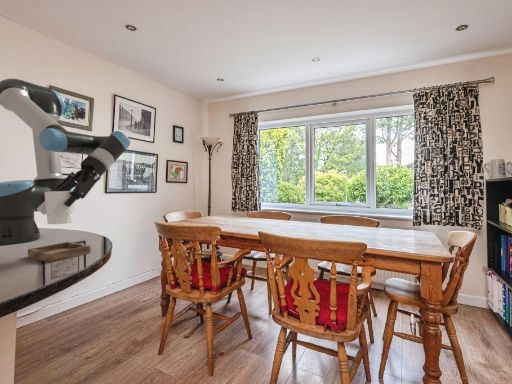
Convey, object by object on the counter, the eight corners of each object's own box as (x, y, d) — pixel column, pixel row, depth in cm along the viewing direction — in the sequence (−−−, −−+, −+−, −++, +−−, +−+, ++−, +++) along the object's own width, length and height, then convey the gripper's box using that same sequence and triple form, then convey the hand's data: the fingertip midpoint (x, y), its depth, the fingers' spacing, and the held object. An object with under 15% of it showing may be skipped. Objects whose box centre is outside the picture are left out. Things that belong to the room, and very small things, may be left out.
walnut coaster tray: (27, 257, 85) (27, 249, 84) (68, 248, 95) (68, 241, 95) (50, 262, 80) (50, 254, 79) (90, 252, 90) (90, 245, 90)
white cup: (59, 225, 82) (59, 192, 82) (38, 224, 84) (37, 191, 83) (81, 221, 90) (80, 191, 90) (61, 220, 92) (60, 190, 91)
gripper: (123, 170, 96) (78, 222, 82) (86, 171, 104) (39, 217, 90) (110, 154, 91) (59, 206, 77) (71, 156, 99) (19, 203, 85)
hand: (48, 212), depth 84 cm, fingers closed on white cup, 8 cm apart
